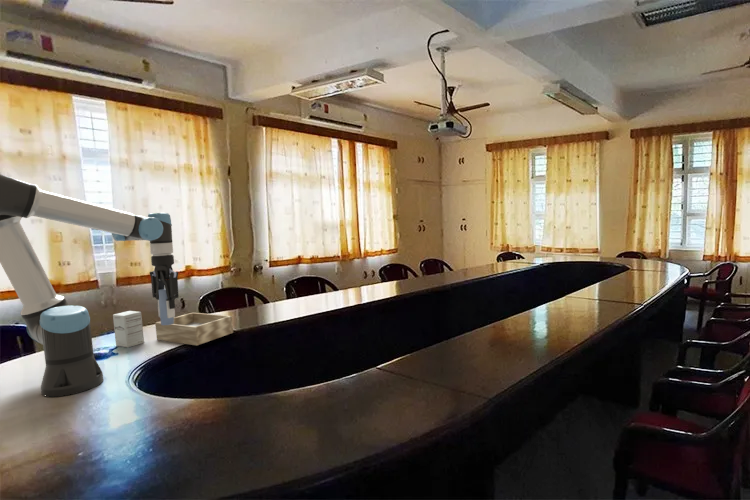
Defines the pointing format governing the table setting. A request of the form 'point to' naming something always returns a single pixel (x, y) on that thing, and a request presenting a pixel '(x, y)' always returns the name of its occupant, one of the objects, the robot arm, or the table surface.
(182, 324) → the crate
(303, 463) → the table surface
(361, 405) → the table surface
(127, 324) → the supplement box
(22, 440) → the table surface
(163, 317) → the peg
